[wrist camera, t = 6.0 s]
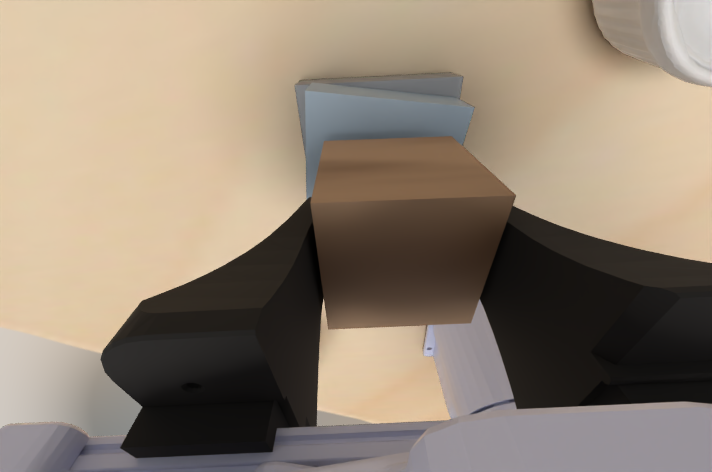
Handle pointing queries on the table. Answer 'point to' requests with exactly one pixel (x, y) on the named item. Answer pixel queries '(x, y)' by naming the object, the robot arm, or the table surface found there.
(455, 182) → the walnut cube
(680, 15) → the ramekin
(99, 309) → the table surface
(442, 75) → the tower base
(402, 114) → the tower top
